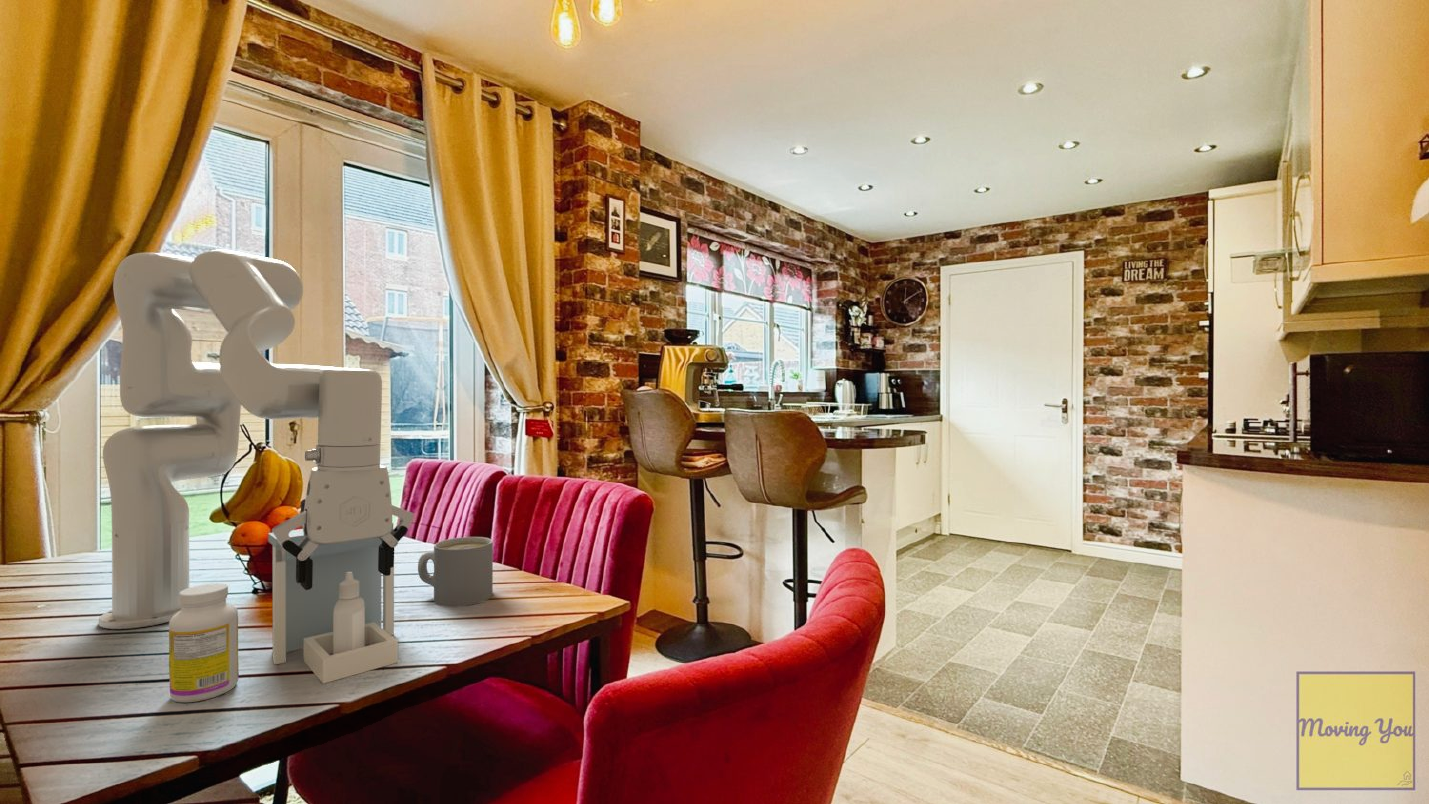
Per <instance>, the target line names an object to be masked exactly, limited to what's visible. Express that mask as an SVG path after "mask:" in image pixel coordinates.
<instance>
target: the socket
mask: <svg viewBox="0 0 1429 804" xmlns="http://www.w3.org/2000/svg"><path fill="white" fill-rule="evenodd" d="M303 661H304V663H305V664H306V665H307V666H308V667H309V669H310V668H311V672H313V674H314V675H315V676H316V677H317V678H318V679H319V681H320V682H321V683H322V684H326V683H330V682H333V681H337V680H340V679H344V678H348V677H351V676H355V675H358V674H361V673H366V672H368V671H369V672H370V671H372V670H376V669H379V668H383V667H386V666H390V665H394V664H396V663H397V664H398V663H399V640H398V639H396V638H395V637H394V636H393V635H390V634H389V633H387V632H386V631H385V630H384V629H383V627H382V626H381V627H380V626H379V625H377V624H376V623H375V622H372V623H368V624H365V647H361V648H358V649H354V650H350V651H346V652H342V653H338V654H334V655H333V632H329V633H325V634H321V635H317V636H312V637H308V638H304V648H303Z"/></svg>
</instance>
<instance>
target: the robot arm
mask: <svg viewBox="0 0 1429 804" xmlns="http://www.w3.org/2000/svg"><path fill="white" fill-rule="evenodd" d="M112 283H113V284H112V286H113V287H112V290H113V296H114V302H115V306H116V309H117V312H118V316H119V320H120V323H121V328H122V340H121V341H122V343H121V358H120V359H121V361H120V378H119V396H120V403H121V406H122V408H123V410H124V411H126V412H127V413H128V414H130V415H133V416H136V417H140V418H190V417H191V418H195V419H196V424H195V423H193V424H191V423H190V424H158V425H156V424H155V425H153V424H152V425H141V426H133V427H131V426H130V427H126V428H124V429H120V430H118V431H116V432H115V433H113V434H112V435H111V436H109V437H108V438H107V440H106V441H105V442H104V444H103V449H102V461H103V466H104V470H105V473H106V477H107V481H108V486H109V491H110V507H111V606H112V607H111V610H108V611H106V612H105V613H103V614H101V615H100V616H99V618H98V626H99V627H101V628H104V629H110V630H125V629H126V630H127V629H128V630H129V629H137V628H138V629H139V628H144V627H145V628H146V627H150V626H151V627H152V626H156V625H161V624H166V623H169V622H170V620H171V618H172V617H173V616H174V615H175V614H176V613H178V612H179V611H181V610H182V606H181V605H180V603H179V593H180V592H181V591H183V590H185V589H187V588H190V508H189V505H188V502H187V500H186V498H184V496H183V495H182V494H181V493H180V492H179V491H178V490H177V489H176V488H175V487H174V485H173V484H172V483H173V482H178V481H184V480H185V481H187V480H195V479H197V480H198V479H204V478H211V477H217V476H221V475H224V474H226V473H228V472H229V471H230V470H232V468H233V467H234V465H235V464H236V461H237V458H238V457H237V456H238V451H239V438H240V428H241V427H240V423H241V412H242V411H241V410H242V407H243V408H244V410H245V411H247V412H248V413H249V414H251V415H253V416H254V417H257V418H260V419H265V420H290V419H292V420H293V419H317V423H318V424H317V444H316V447H314V449H311V450H305V451H304V460H305V461H306V462H307V461H311V462H314V463H315V465H317V466H316V467H313V468H311V471H310V474H309V479H308V484H307V488H306V493H305V499H306V500H305V507H304V512H302V513H301V512H300V513H299V514H296V515H294V516H293V517H290V518H289V519H287V520H285V521H283V522H281V523H279V524H278V525H275V526H274V527H273V528H272V529H271V533H273V534H274V536H275V537H276V539H277V540H278V542H279V543H280V545H281V547H283V548H284V549H285V550H286V551H288V552H289V553H290V554H292V555H293V556H295V557H296V582H297V583H300V584H301V586H302V587H303V588H304V589H305V590H310V589H311V588H312V579H313V560H312V559H311V558H310V555H311V553H312V552H313V551H314V550H315V549H316V548H317V547H318V546H319V545H330V544H338V543H345V542H353V541H360V540H368V539H374V538H380V539H381V540H382V544H380V546H379V551H378V571H379V572H380V573H381V575H382V576H383V575H385V576H389V575H390V574H391V568H392V567H394V568H395V548H396V547H397V546H398V544H399V542H400V541H401V540H402V538H403V537H404V536H405V535H406V534H408V531H409V528H410V527H411V524H412V523H413V521H414V520H415V516H416V515H415V513H414V512H411V511H408V510H406V509H404V508H400V507H398V506H396V505H393V504H392V491H391V483H390V478H389V477H390V475H389V472H388V468H387V465H382V464H381V448H382V447H381V445H382V444H381V443H382V442H381V440H382V404H383V403H382V400H383V397H382V396H383V380H382V375H380V373H379V372H378V371H376V370H373V369H369V368H368V369H367V368H355V367H350V368H349V367H336V366H325V365H324V366H323V365H309V364H295V363H293V364H292V363H291V364H290V363H289V364H288V363H272V362H270V361H269V360H268V359H267V358H266V357H265V355H264V354H263V353H262V352H263V351H267V350H269V349H272V348H274V347H276V346H278V345H280V344H281V343H283V342H285V340H287V338H288V337H290V335H291V334H292V333H293V331H294V329H295V324H296V319H295V314H293V311H292V310H294V309H295V308H296V307H297V306H299V304H300V302H301V301H302V298H303V294H304V286H303V281H302V279H301V277H300V275H299V273H298V272H297V271H296V270H295V268H293V266H291V265H290V264H289V263H286V262H284V261H282V260H278V259H274V258H270V257H265V256H260V255H254V254H250V253H245V252H240V251H234V250H230V249H229V250H228V249H214V250H207V251H204V252H201V253H200V254H199V255H196V256H195V258H193V257H188V256H182V255H175V254H170V253H169V254H168V253H163V252H162V253H161V252H160V253H159V252H137V253H133V254H130V255H128V256H125V258H124V259H122V260H121V261H120V262H119V264H118V266H117V268H116V270H115V273H114V277H113V281H112ZM175 310H181V311H182V310H183V311H191V312H197V313H198V312H199V313H205V314H213V315H214V316H215V318H216V319H217V320H218V321H219V322H220V324H221V325H222V327H223V329H224V330H225V331H226V334H225V336H224V337H223V340H222V342H221V346H220V349H219V360H218V361H219V363H215V362H202V361H200V362H199V361H196V362H195V361H192V346H193V345H192V344H193V337H192V333H191V331H190V329H189V327H188V325H187V324H186V323H185V322H184V321H185V320H183V318H182V317H181V316H180V315H179V314H178V313H177V312H176V311H175ZM393 516H395V517H397V518H399V519H400V520H399V522H398V524H397V526H395V527H393V530H392V523H393ZM301 525H303V533H304V536H305V538H304V539H303V540H302V541H301V542H300V543H299V545H297V544H295V543H294V542H292V540H291V539H290V537H289V532H290V531H292V530H297V528H298V529H299V528H300V526H301ZM391 530H392V532H391ZM390 532H391V533H390Z"/></svg>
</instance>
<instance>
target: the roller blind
mask: <svg viewBox="0 0 1429 804" xmlns="http://www.w3.org/2000/svg"><path fill="white" fill-rule="evenodd" d="M393 529H394V522H392V530H393ZM392 530H391V532H392ZM391 532H390V533H391ZM267 534H268V535H267V542H268V543H269V544H271V545H272V549H271V550H272V553H271V554H272V563H271V564H272V565H271V566H272V568H271V569H272V570H271V571H272V654H273V655H272V659H273V661H272V662H273V664H274V665H279V664H283V663H286V662H287V661H286V658H287V657H286V653H289V652H292V651H297V650H302V649H304V638H308V637H312V636H317V635H321V634H325V633H329V632H333V613H334V607H335V605H336V603H337V602H338V601H339V599H340V598H339V584H340V583H341V582H343V581H344V580H345V577H346V573H347V572H352V573H353V578H354V579H355V580H358V581H359V597H361V598H362V599H363V600H364V605H365V624H368V623H372V622H375V623H376V624H377V625H379V626H380V627H381V628H382V629H384V630H385V631H386V632H387V633H389V634H390V635H391V636H393V635H395V566H394V567H392V568H391V574H390V575H389V576H385V575H383V574H382V573H380V572H379V571H378V551H379V546H380V544H382V540H381V539H380V538H374V539H368V540H360V541H353V542H345V543H338V544H330V545H319V546H318V547H317V548H316V549H315V550H314V551H313V552H312V553H311V555H310V558H311V559H312V560H313V579H312V588H311V589H310V590H305V589H304V588H303V587H302V586H301V584H300V583H297V582H296V557H295V556H293V555H292V554H290V553H289V552H288V551H286V550H285V549H284V548H283V547H281V545H280V543H279V542H278V540H277V539H276V537H275V536H274V534H273V533H272V532H268V533H267ZM289 537H290V539H291V540H292V542H294V543H295V544H297V545H299V543H300V542H301V541H302V540H303V539H304V538H305V536H304V533H303V529H299V528H298V529H294V530H292V531H290V532H289Z"/></svg>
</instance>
